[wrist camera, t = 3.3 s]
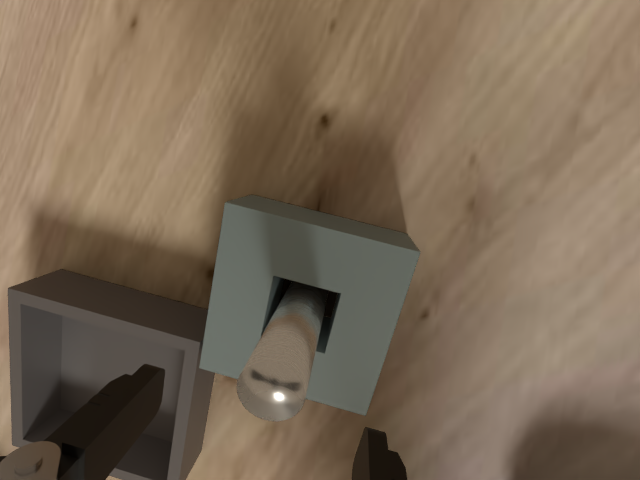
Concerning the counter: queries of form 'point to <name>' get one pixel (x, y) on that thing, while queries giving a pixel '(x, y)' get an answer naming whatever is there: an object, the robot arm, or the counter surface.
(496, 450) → the counter surface
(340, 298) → the pin block
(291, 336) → the pin
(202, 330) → the tray
